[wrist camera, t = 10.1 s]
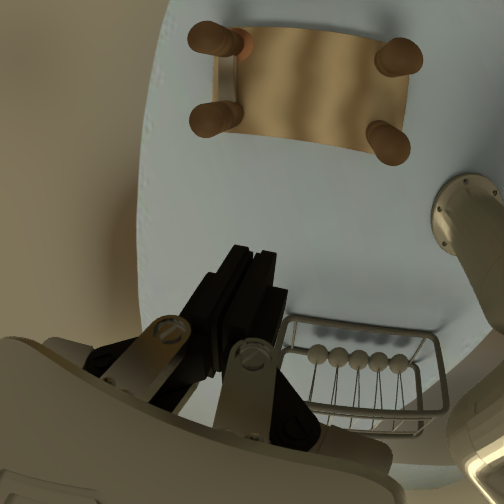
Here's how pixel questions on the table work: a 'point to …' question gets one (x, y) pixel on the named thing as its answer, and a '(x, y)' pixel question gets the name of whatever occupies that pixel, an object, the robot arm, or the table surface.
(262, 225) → the table surface
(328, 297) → the table surface
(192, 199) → the table surface
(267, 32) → the stool seat
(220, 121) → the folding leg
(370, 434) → the newton's cradle
